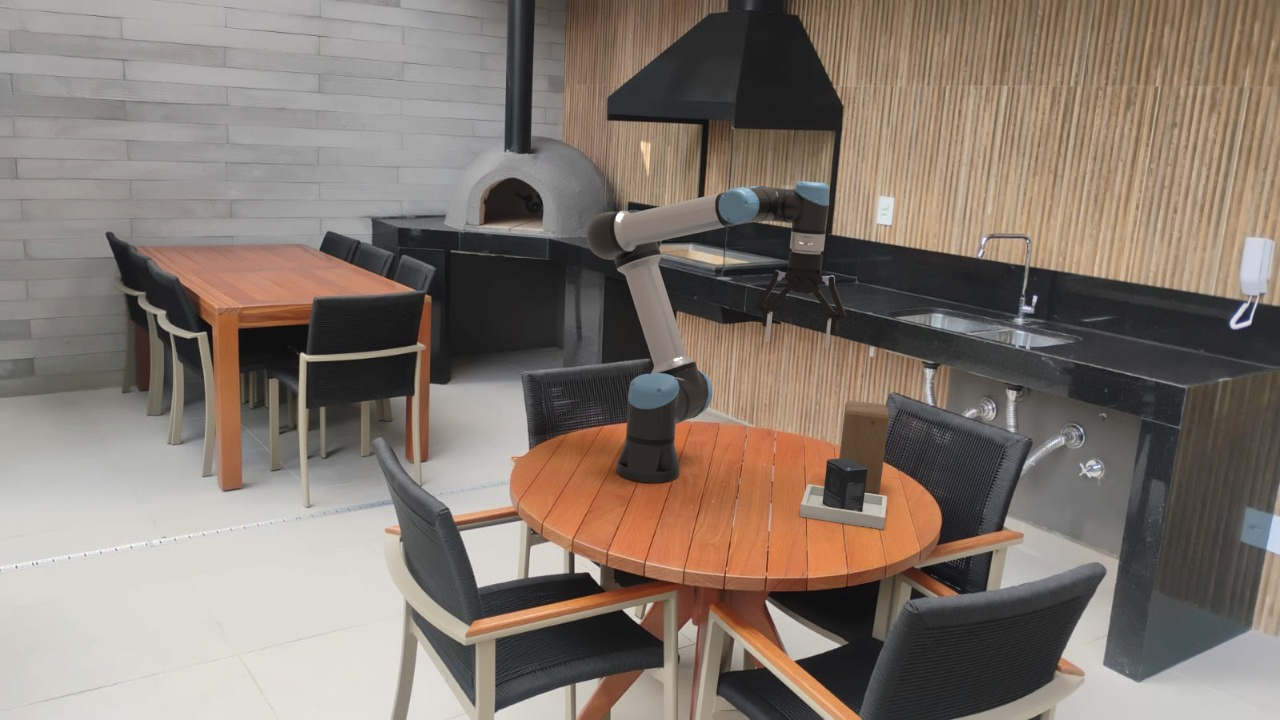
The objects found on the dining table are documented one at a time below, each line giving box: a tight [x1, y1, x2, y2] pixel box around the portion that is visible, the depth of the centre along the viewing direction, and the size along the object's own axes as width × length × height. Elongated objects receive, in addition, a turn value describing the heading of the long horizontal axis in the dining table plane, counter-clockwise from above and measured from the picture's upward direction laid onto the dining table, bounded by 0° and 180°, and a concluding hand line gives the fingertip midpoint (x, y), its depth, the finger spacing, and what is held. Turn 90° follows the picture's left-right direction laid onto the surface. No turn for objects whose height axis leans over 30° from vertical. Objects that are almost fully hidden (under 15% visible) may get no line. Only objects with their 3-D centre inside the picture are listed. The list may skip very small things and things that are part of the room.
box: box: [823, 457, 868, 512], centre depth 219 cm, size 8×6×11 cm
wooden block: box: [838, 400, 890, 495], centre depth 235 cm, size 10×10×20 cm
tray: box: [799, 483, 888, 531], centre depth 220 cm, size 18×14×3 cm
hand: (796, 344), depth 226 cm, fingers open, 13 cm apart
